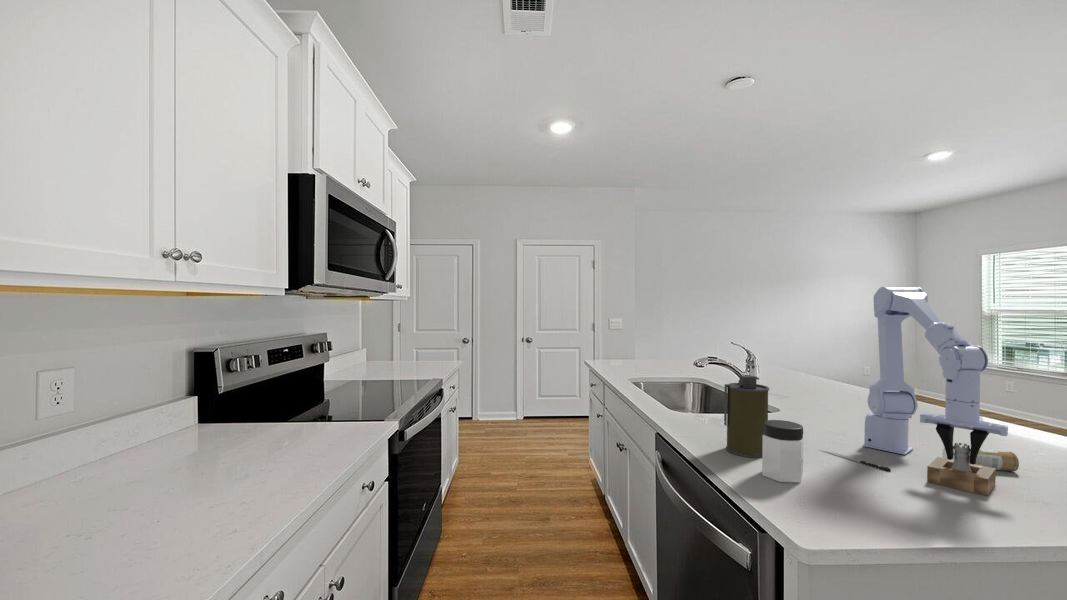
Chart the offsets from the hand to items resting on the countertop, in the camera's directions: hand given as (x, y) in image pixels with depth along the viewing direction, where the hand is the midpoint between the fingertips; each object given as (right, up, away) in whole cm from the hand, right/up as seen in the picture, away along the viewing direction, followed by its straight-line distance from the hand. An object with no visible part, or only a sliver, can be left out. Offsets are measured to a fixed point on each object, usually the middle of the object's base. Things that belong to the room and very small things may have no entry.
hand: (961, 461), depth 108 cm
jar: (-38, -5, +3) cm, 39 cm away
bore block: (0, -5, 0) cm, 5 cm away
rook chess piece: (0, -5, 0) cm, 5 cm away
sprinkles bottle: (+19, -3, +8) cm, 21 cm away
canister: (-39, -5, +21) cm, 44 cm away
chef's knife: (-14, -5, +16) cm, 22 cm away
